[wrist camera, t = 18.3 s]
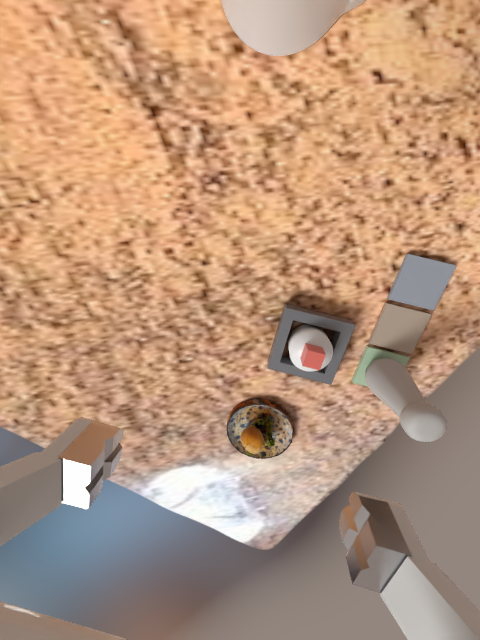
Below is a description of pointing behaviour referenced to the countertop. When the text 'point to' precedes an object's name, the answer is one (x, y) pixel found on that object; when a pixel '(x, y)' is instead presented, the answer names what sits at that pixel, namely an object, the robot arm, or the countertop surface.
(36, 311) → the countertop surface
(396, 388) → the salt shaker
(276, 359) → the button housing
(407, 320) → the track
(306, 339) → the dome
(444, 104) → the countertop surface
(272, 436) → the bowl of food
